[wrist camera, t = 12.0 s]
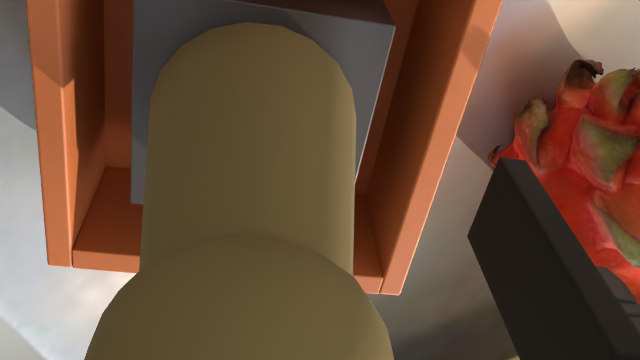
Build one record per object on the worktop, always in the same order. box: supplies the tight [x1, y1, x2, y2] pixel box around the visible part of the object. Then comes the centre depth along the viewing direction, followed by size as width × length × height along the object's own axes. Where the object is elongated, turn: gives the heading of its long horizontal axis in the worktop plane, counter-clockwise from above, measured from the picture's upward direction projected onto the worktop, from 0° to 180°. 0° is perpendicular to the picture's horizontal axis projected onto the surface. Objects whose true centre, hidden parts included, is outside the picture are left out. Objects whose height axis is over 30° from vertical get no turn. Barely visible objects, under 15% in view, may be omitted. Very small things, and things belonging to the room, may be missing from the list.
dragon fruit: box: [488, 60, 640, 304], centre depth 23 cm, size 8×8×12 cm
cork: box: [84, 22, 394, 360], centre depth 13 cm, size 6×6×11 cm
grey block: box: [130, 0, 396, 205], centre depth 20 cm, size 7×7×4 cm
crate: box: [26, 0, 503, 295], centre depth 20 cm, size 12×12×6 cm
